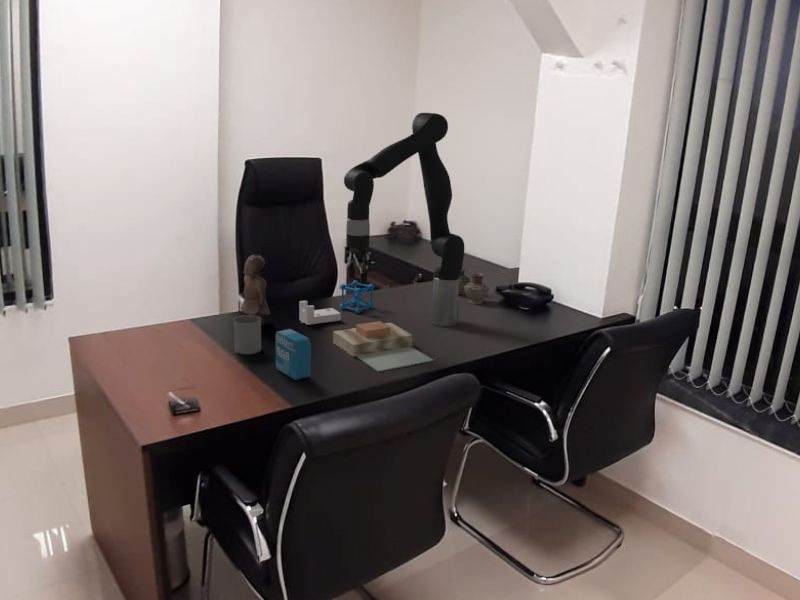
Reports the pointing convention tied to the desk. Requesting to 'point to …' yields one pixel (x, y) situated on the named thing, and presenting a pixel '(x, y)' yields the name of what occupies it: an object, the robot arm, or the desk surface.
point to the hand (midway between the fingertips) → (357, 280)
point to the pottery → (472, 287)
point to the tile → (373, 329)
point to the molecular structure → (356, 296)
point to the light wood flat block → (371, 341)
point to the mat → (394, 358)
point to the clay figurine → (254, 289)
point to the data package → (293, 354)
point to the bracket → (316, 314)
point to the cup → (247, 334)
